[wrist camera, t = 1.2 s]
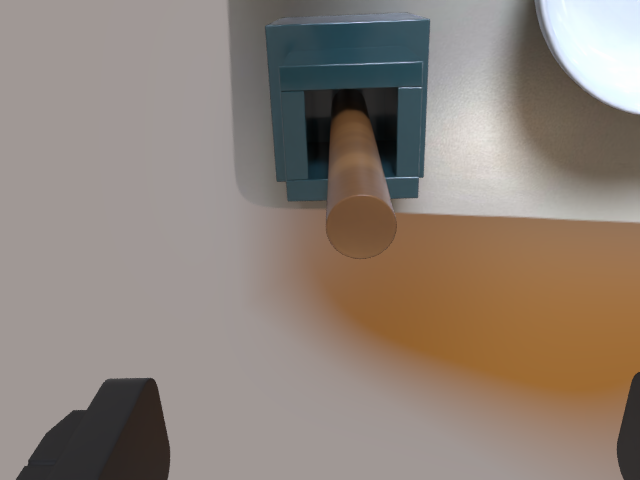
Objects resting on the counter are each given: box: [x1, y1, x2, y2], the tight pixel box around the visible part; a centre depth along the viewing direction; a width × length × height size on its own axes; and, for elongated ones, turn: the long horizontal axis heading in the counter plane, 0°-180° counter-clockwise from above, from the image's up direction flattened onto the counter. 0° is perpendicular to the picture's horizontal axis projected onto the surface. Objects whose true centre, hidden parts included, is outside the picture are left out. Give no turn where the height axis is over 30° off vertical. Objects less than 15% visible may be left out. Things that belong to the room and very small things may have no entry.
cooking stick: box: [326, 89, 397, 259], centre depth 26 cm, size 2×2×20 cm
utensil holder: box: [265, 12, 430, 201], centre depth 37 cm, size 10×10×19 cm
